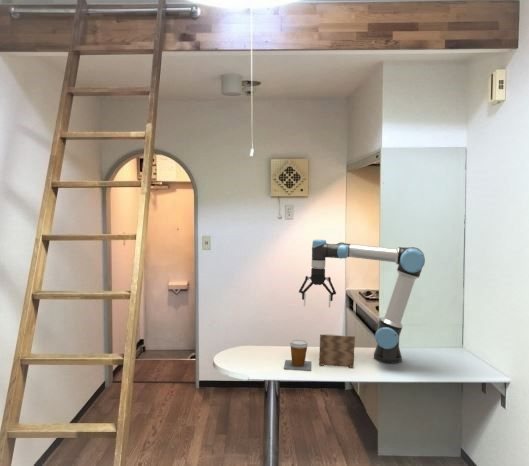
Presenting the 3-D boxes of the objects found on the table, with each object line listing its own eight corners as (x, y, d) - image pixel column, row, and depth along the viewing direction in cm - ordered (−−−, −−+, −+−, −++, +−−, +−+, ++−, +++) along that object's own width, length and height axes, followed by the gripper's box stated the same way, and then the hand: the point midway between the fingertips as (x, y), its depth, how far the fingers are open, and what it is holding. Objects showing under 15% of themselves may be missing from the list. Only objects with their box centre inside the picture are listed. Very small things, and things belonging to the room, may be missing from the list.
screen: (353, 365, 258) (354, 335, 257) (353, 368, 253) (355, 337, 252) (318, 363, 260) (320, 333, 259) (319, 366, 255) (320, 336, 254)
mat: (311, 362, 260) (311, 361, 260) (311, 371, 247) (311, 369, 246) (285, 360, 262) (285, 359, 262) (283, 369, 248) (283, 368, 248)
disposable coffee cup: (306, 368, 248) (307, 345, 248) (287, 366, 250) (288, 343, 250) (308, 362, 258) (309, 340, 257) (290, 361, 260) (291, 338, 259)
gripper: (340, 267, 269) (339, 306, 270) (295, 266, 271) (294, 303, 273) (341, 269, 262) (340, 308, 263) (295, 267, 264) (294, 306, 265)
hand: (316, 306), depth 268 cm, fingers open, 13 cm apart
